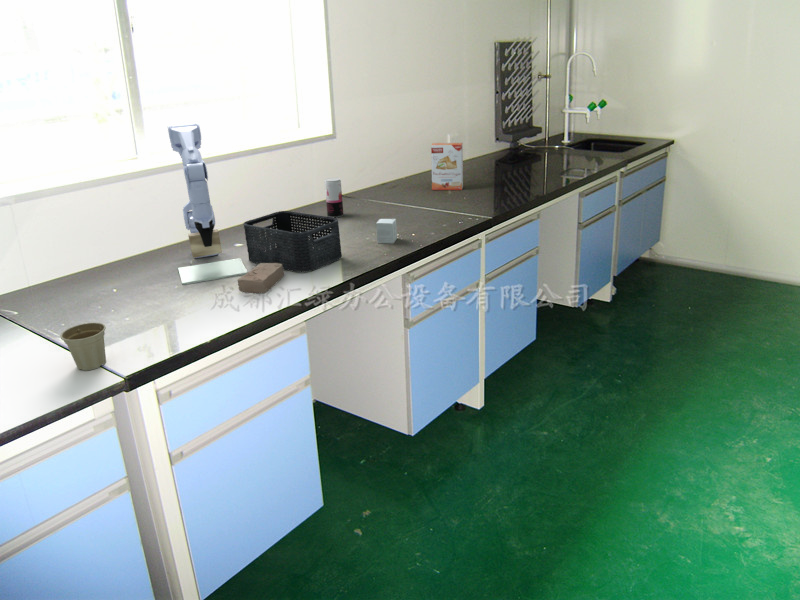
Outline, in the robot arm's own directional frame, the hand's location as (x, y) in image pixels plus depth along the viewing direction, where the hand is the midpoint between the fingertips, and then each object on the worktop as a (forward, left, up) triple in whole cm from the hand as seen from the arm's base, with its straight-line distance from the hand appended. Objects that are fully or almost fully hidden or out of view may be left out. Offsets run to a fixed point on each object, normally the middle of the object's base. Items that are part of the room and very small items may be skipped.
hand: (207, 244), depth 207 cm
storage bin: (+1, +27, -9) cm, 29 cm away
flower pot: (+54, -34, -9) cm, 65 cm away
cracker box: (-66, +115, -9) cm, 133 cm away
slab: (0, -1, -3) cm, 3 cm away
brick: (+20, +12, -10) cm, 25 cm away
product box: (-3, +61, -9) cm, 62 cm away
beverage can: (-47, +55, -9) cm, 73 cm away
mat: (0, 0, -9) cm, 9 cm away
